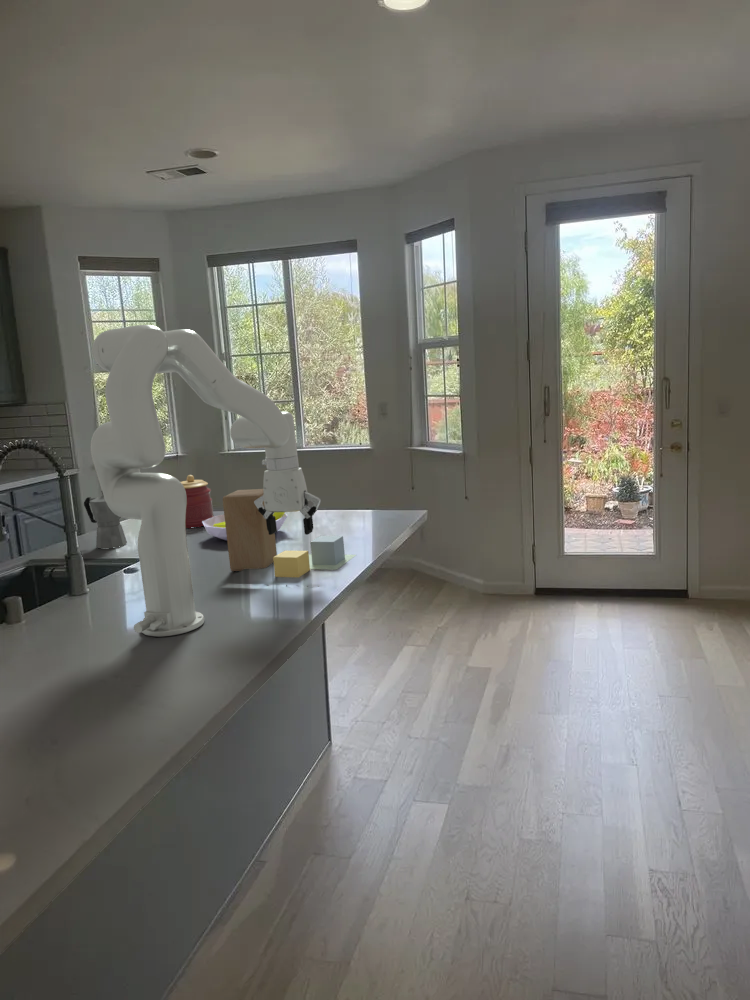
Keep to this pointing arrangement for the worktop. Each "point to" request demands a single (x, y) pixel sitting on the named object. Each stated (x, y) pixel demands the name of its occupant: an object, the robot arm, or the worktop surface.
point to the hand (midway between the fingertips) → (290, 533)
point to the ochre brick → (291, 563)
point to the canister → (197, 502)
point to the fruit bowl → (218, 528)
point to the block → (247, 531)
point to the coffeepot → (105, 523)
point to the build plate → (330, 567)
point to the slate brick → (327, 550)
